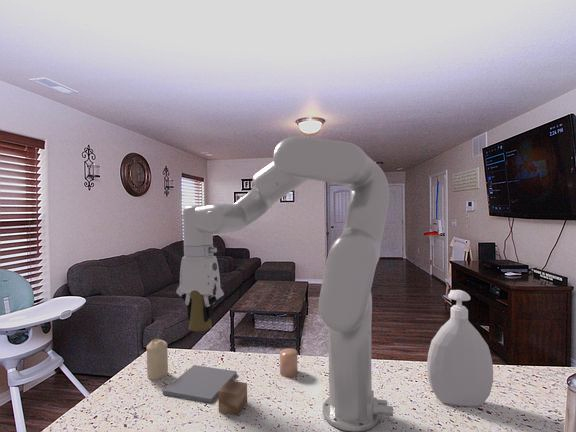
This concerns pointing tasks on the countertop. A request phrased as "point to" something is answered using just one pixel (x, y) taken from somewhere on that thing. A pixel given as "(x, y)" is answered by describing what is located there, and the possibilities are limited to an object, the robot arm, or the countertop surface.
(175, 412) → the countertop surface
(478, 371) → the soap bottle
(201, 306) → the olive tall rounded piece
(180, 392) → the slate tile
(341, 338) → the robot arm
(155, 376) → the candle
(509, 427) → the countertop surface
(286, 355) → the peach blob
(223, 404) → the walnut block
